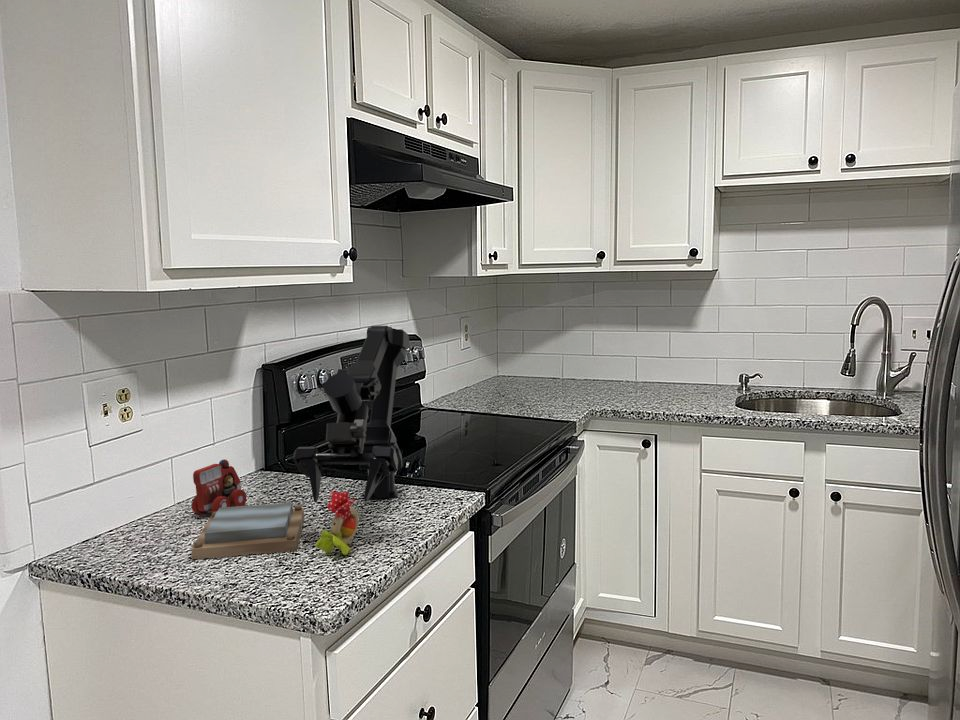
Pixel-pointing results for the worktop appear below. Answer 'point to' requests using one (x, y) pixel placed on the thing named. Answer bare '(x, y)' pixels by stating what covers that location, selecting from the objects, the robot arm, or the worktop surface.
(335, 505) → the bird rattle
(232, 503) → the toy fire truck
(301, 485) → the worktop surface
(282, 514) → the wooden toy tray
